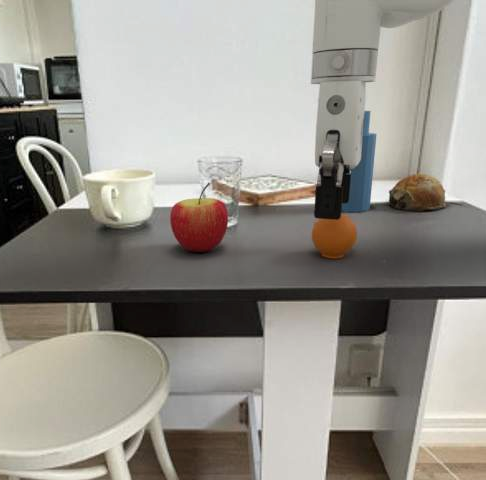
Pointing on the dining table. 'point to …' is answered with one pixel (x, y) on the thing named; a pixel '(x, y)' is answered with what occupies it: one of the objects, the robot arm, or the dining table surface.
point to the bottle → (362, 173)
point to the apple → (199, 223)
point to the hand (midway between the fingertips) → (332, 209)
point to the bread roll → (418, 193)
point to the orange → (334, 236)
